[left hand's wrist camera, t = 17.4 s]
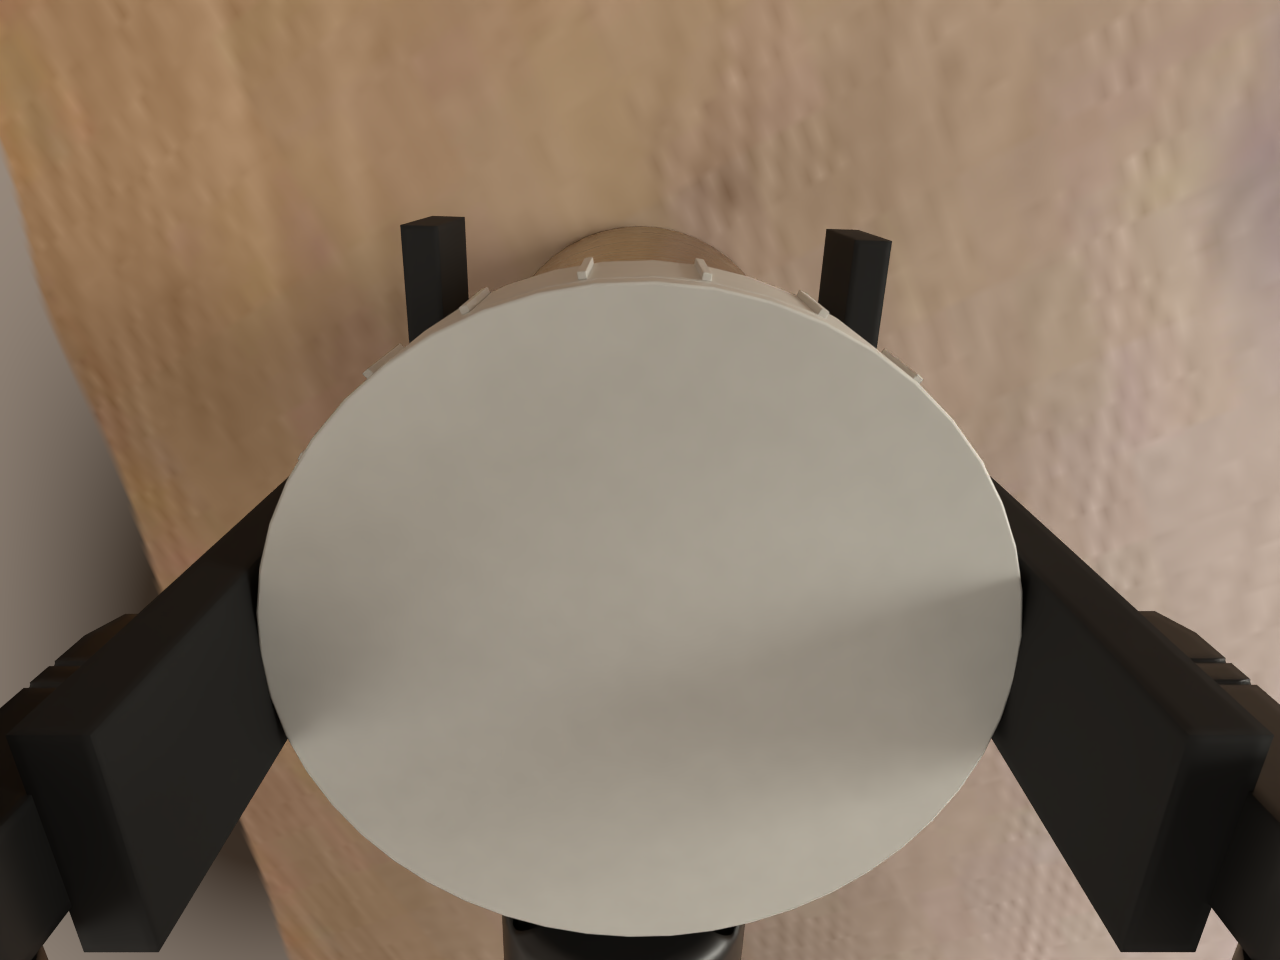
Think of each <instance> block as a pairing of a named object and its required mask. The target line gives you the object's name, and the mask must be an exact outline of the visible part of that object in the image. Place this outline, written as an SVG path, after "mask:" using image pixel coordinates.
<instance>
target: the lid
mask: <svg viewBox="0 0 1280 960" xmlns="http://www.w3.org/2000/svg"><path fill="white" fill-rule="evenodd" d="M363 375H364V376H365V377H366V378H367V380H366V381H364V382H363V383H362V384H361V385H360V386H359V387H358V388H357V389H355V390H354V391H353V392H352V393H351V394H350V395H349V396H348V397H346V398H345V399H344V400H343V402H342V403H341V404H340V405H339V406H338V408H337V409H336V410H335V411H334V412H333V414H332V415H331V416H330V417H329V418H328V420H327V421H326V422H325V423H324V424H323V426H322V427H321V428H320V429H319V430H318V432H317V433H316V434H315V435H314V436H313V438H312V439H311V441H310V443H309V444H308V446H307V448H306V449H305V450H304V451H303V452H301V454H300V456H299V458H298V460H299V461H298V463H297V464H296V466H295V468H294V469H293V471H292V473H291V474H290V476H289V478H288V479H287V481H286V484H285V486H284V489H283V491H282V494H281V496H280V499H279V501H278V504H277V506H276V509H275V511H274V514H273V516H272V519H271V521H270V524H269V528H268V533H267V537H266V541H265V546H264V550H263V554H262V559H261V563H260V568H259V583H258V598H257V624H258V635H259V646H260V651H261V657H262V661H263V666H264V671H265V675H266V680H267V684H268V689H269V693H270V697H271V699H272V702H273V704H274V707H275V709H276V712H277V714H278V717H279V719H280V722H281V724H282V727H283V729H284V732H285V734H286V736H287V738H288V740H289V741H290V743H291V745H292V747H293V748H294V750H295V752H296V754H297V755H298V757H299V759H300V761H301V762H302V764H303V766H304V768H305V769H306V771H307V772H308V774H309V775H310V776H311V778H312V779H313V780H314V782H315V783H316V784H317V786H318V787H319V788H320V790H321V791H322V792H323V793H324V795H325V796H326V797H327V799H328V800H329V801H330V803H331V804H332V805H333V806H334V807H335V808H336V809H337V810H338V811H339V812H340V813H341V814H342V815H343V816H344V817H345V818H346V819H347V820H348V821H349V822H350V823H351V824H352V825H353V826H354V827H355V829H356V830H357V831H358V832H359V833H360V834H361V835H363V836H364V837H365V838H366V839H368V840H369V841H370V842H371V843H373V844H374V845H375V846H376V847H378V848H379V849H380V850H381V851H383V852H384V853H385V854H386V855H388V856H389V857H390V858H391V859H392V860H394V861H395V862H397V863H399V864H400V865H402V866H403V867H405V868H406V869H408V870H410V871H411V872H413V873H414V874H416V875H417V876H419V877H420V878H422V879H424V880H425V881H427V882H428V883H430V884H432V885H434V886H436V887H438V888H440V889H442V890H444V891H446V892H448V893H450V894H452V895H454V896H456V897H458V898H460V899H462V900H464V901H467V902H469V903H472V904H475V905H477V906H480V907H483V908H485V909H488V910H491V911H493V912H496V913H499V914H501V915H504V916H507V917H511V918H515V919H518V920H522V921H526V922H530V923H533V924H537V925H541V926H545V927H550V928H556V929H562V930H568V931H574V932H580V933H586V934H599V935H613V936H627V937H635V936H672V935H681V934H690V933H698V932H707V931H714V930H719V929H723V928H728V927H733V926H737V925H742V924H747V923H751V922H755V921H758V920H761V919H764V918H768V917H771V916H774V915H777V914H780V913H783V912H786V911H790V910H793V909H795V908H797V907H800V906H802V905H804V904H807V903H809V902H811V901H814V900H816V899H818V898H821V897H823V896H825V895H828V894H830V893H832V892H834V891H836V890H837V889H839V888H841V887H843V886H845V885H846V884H848V883H850V882H852V881H853V880H855V879H857V878H859V877H861V876H862V875H864V874H866V873H868V872H869V871H871V870H872V869H873V868H875V867H876V866H878V865H879V864H880V863H882V862H883V861H885V860H886V859H887V858H889V857H890V856H892V855H893V854H894V853H896V852H897V851H899V850H900V849H901V848H903V847H904V846H905V845H906V844H907V843H908V842H909V841H910V840H911V839H913V838H914V837H915V836H916V835H917V834H918V833H919V832H920V831H921V830H923V829H924V828H925V827H926V826H927V825H928V824H929V823H930V822H931V821H933V819H934V818H935V817H936V816H937V815H938V814H939V813H940V811H941V810H942V809H943V808H944V807H945V806H946V805H947V803H948V802H949V801H950V800H951V799H952V798H953V797H954V795H955V794H956V793H957V792H958V791H959V790H960V788H961V787H962V785H963V784H964V782H965V781H966V779H967V778H968V776H969V775H970V773H971V772H972V771H973V769H974V768H975V766H976V765H977V763H978V762H979V760H980V759H981V757H982V756H983V754H984V752H985V750H986V748H987V746H988V744H989V742H990V740H991V738H992V736H993V734H994V732H995V730H996V728H997V725H998V723H999V721H1000V719H1001V717H1002V714H1003V711H1004V708H1005V705H1006V702H1007V699H1008V696H1009V693H1010V690H1011V686H1012V682H1013V677H1014V672H1015V667H1016V662H1017V657H1018V652H1019V647H1020V642H1021V637H1022V584H1021V577H1020V570H1019V563H1018V556H1017V549H1016V544H1015V541H1014V538H1013V535H1012V531H1011V528H1010V525H1009V522H1008V518H1007V515H1006V512H1005V509H1004V505H1003V502H1002V500H1001V498H1000V496H999V494H998V492H997V490H996V488H995V486H994V484H993V482H992V480H991V478H990V476H989V474H988V472H987V470H986V468H985V464H984V462H983V460H982V459H981V458H980V457H979V455H978V454H977V453H976V451H975V450H974V448H973V447H972V446H971V444H970V443H969V441H968V440H967V438H966V437H965V436H964V434H963V433H962V431H961V430H960V428H959V427H958V426H957V424H956V423H955V421H954V420H953V419H952V418H951V417H950V416H949V415H948V413H947V412H946V411H945V410H944V409H943V408H942V407H941V406H940V405H939V404H938V403H937V402H936V401H935V400H934V399H933V398H932V397H931V396H930V395H929V394H928V393H927V392H926V391H925V390H924V388H923V387H922V386H921V385H920V383H921V382H922V381H923V379H922V378H921V377H920V376H919V375H918V374H917V373H916V372H914V371H913V370H912V369H911V368H909V367H908V366H907V365H905V364H904V363H903V362H902V361H900V360H899V359H898V358H897V357H895V356H894V355H893V354H891V353H890V352H889V351H888V350H886V349H884V350H883V351H882V352H880V351H878V350H877V349H876V348H875V347H873V346H872V345H871V344H870V343H868V342H867V341H866V340H864V339H863V338H862V337H861V336H859V335H858V334H857V333H855V332H854V331H853V330H851V329H850V328H849V327H848V326H846V325H845V324H844V323H842V322H841V321H840V320H839V319H837V318H836V317H834V316H832V315H830V314H829V311H828V310H826V309H825V308H824V307H823V306H821V305H820V304H819V303H818V302H816V301H815V300H814V299H813V298H812V297H810V296H809V295H808V294H807V293H805V292H803V291H801V290H800V291H799V292H798V294H797V295H795V294H792V293H790V292H787V291H785V290H782V289H780V288H777V287H775V286H772V285H770V284H767V283H764V282H762V281H759V280H757V279H754V278H752V277H749V276H744V275H740V274H736V273H732V272H728V271H724V270H720V269H716V268H712V267H708V266H707V265H706V263H705V261H704V260H703V259H698V258H696V259H695V263H694V264H685V263H675V262H666V261H656V260H643V261H611V262H599V263H594V262H593V257H588V258H584V260H583V262H582V264H581V266H575V267H569V268H563V269H557V270H553V271H549V272H546V273H543V274H540V275H537V276H533V277H530V278H527V279H524V280H521V281H517V282H514V283H511V284H508V285H506V286H504V287H501V288H499V289H497V290H495V291H493V292H491V293H490V291H489V289H488V287H485V288H483V289H481V290H480V291H478V292H477V293H476V294H475V295H474V296H472V297H471V298H470V299H469V300H468V301H466V302H465V303H464V304H463V305H462V306H460V307H459V309H457V310H456V311H454V312H453V313H451V314H450V315H448V316H447V317H445V318H444V319H442V320H441V321H439V322H438V323H436V324H435V325H433V326H432V327H430V328H429V329H427V330H426V331H424V332H423V333H422V334H421V335H419V336H418V337H417V338H416V339H414V340H413V341H412V342H411V343H409V344H408V345H407V346H406V347H403V346H402V345H401V344H399V345H397V346H396V347H395V348H394V349H392V350H391V351H390V352H388V353H387V354H386V355H385V356H383V357H382V358H381V359H379V360H378V361H377V362H376V363H374V364H373V365H372V366H370V367H369V368H368V369H367V370H366V371H365V372H364V373H363Z"/></svg>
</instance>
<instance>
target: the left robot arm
mask: <svg viewBox="0 0 1280 960" xmlns="http://www.w3.org/2000/svg"><path fill="white" fill-rule="evenodd" d="M288 478H289V477H288ZM288 478H287V479H288ZM990 478H991V480H992V482H993V484H994V486H995V488H996V490H997V492H998V494H999V496H1000V498H1001V500H1002V502H1003V505H1004V509H1005V512H1006V515H1007V518H1008V522H1009V525H1010V528H1011V531H1012V535H1013V538H1014V541H1015V544H1016V549H1017V556H1018V563H1019V570H1020V577H1021V584H1022V637H1021V642H1020V647H1019V652H1018V657H1017V662H1016V667H1015V672H1014V677H1013V682H1012V686H1011V690H1010V693H1009V696H1008V699H1007V702H1006V705H1005V708H1004V711H1003V714H1002V717H1001V719H1000V721H999V723H998V725H997V728H996V730H995V732H994V734H993V736H992V740H993V742H994V743H995V745H996V746H997V748H998V750H999V751H1000V753H1001V755H1002V756H1003V758H1004V760H1005V761H1006V763H1007V765H1008V766H1009V768H1010V770H1011V771H1012V773H1013V775H1014V776H1015V778H1016V780H1017V781H1018V783H1019V785H1020V786H1021V788H1022V789H1023V791H1024V793H1025V794H1026V796H1027V798H1028V799H1029V801H1030V803H1031V804H1032V806H1033V808H1034V809H1035V811H1036V813H1037V814H1038V816H1039V818H1040V819H1041V821H1042V823H1043V824H1044V826H1045V828H1046V829H1047V831H1048V832H1049V834H1050V836H1051V837H1052V839H1053V841H1054V842H1055V844H1056V846H1057V847H1058V849H1059V851H1060V852H1061V854H1062V856H1063V857H1064V859H1065V861H1066V862H1067V864H1068V866H1069V867H1070V869H1071V871H1072V872H1073V874H1074V875H1075V877H1076V879H1077V880H1078V882H1079V884H1080V885H1081V887H1082V889H1083V890H1084V892H1085V894H1086V895H1087V897H1088V899H1089V900H1090V902H1091V904H1092V905H1093V907H1094V909H1095V910H1096V912H1097V914H1098V915H1099V917H1100V918H1101V920H1102V922H1103V923H1104V925H1105V927H1106V928H1107V930H1108V932H1109V933H1110V935H1111V937H1112V938H1113V940H1114V942H1115V943H1116V945H1117V947H1118V948H1119V950H1120V952H1195V951H1196V949H1197V946H1198V943H1199V940H1200V938H1201V935H1202V932H1203V929H1204V927H1205V924H1206V921H1207V918H1208V916H1209V913H1210V910H1211V907H1212V909H1213V910H1214V911H1215V913H1216V914H1217V915H1218V917H1219V918H1220V919H1221V920H1222V922H1223V923H1224V924H1225V926H1226V927H1227V928H1228V930H1229V931H1230V932H1231V934H1232V935H1233V936H1234V938H1235V939H1236V940H1237V941H1238V945H1237V948H1236V950H1235V953H1234V955H1233V958H1232V960H1280V704H1278V703H1277V702H1276V701H1275V700H1274V699H1273V698H1271V697H1270V696H1269V695H1268V694H1267V693H1266V692H1264V691H1263V690H1262V689H1261V688H1260V687H1259V686H1257V685H1251V683H1250V679H1249V678H1248V677H1247V676H1246V675H1245V674H1243V673H1242V672H1241V671H1240V670H1239V669H1238V668H1236V667H1235V666H1234V665H1233V664H1232V663H1226V661H1225V657H1223V656H1222V655H1221V654H1220V653H1219V652H1218V651H1216V650H1215V649H1214V648H1213V647H1212V646H1211V645H1209V644H1208V643H1207V642H1206V641H1205V640H1204V639H1202V638H1201V637H1200V636H1199V635H1198V634H1197V633H1195V632H1193V631H1191V630H1190V629H1188V628H1186V627H1184V626H1182V625H1180V624H1178V623H1176V622H1174V621H1172V620H1171V619H1169V618H1167V617H1165V616H1163V615H1161V614H1159V613H1157V612H1155V611H1137V610H1136V609H1135V608H1134V607H1133V606H1132V605H1131V604H1130V603H1129V602H1128V601H1126V600H1125V599H1124V598H1123V597H1122V596H1121V595H1120V594H1119V593H1118V592H1117V591H1115V590H1114V589H1113V588H1112V587H1111V586H1110V585H1109V584H1108V583H1107V582H1106V581H1105V580H1103V579H1102V578H1101V577H1100V576H1099V575H1098V574H1097V573H1096V572H1095V571H1094V570H1092V569H1091V568H1090V567H1089V566H1088V565H1087V564H1086V563H1085V562H1084V561H1083V560H1081V559H1080V558H1079V557H1078V556H1077V555H1076V554H1075V553H1074V552H1073V551H1072V550H1071V549H1069V548H1068V547H1067V546H1066V545H1065V544H1064V543H1063V542H1062V541H1061V540H1060V539H1058V538H1057V537H1056V536H1055V535H1054V534H1053V533H1052V532H1051V531H1050V530H1049V529H1047V528H1046V527H1045V526H1044V525H1043V524H1042V523H1041V522H1040V521H1039V520H1038V519H1036V518H1035V517H1034V516H1033V515H1032V514H1031V513H1030V512H1029V511H1028V510H1027V509H1026V508H1024V507H1023V506H1022V505H1021V504H1020V503H1019V502H1018V501H1017V500H1016V499H1015V498H1013V497H1012V496H1011V495H1010V494H1009V493H1008V492H1007V491H1006V490H1005V489H1004V488H1002V487H1001V486H1000V485H999V484H998V483H997V482H996V481H995V480H994V479H993V478H992V477H990ZM287 479H286V480H285V481H284V482H282V483H281V484H280V485H279V486H278V487H277V488H276V489H275V490H274V491H273V492H271V493H270V494H269V495H268V496H267V497H266V498H265V499H264V500H263V501H262V502H261V503H259V504H258V505H257V506H256V507H255V508H254V509H253V510H252V511H251V512H250V513H248V514H247V515H246V516H245V517H244V518H243V519H242V520H241V521H240V522H239V523H237V524H236V525H235V526H234V527H233V528H232V529H231V530H230V531H229V532H228V533H226V534H225V535H224V536H223V537H222V538H221V539H220V540H219V541H218V542H217V543H216V544H214V545H213V546H212V547H211V548H210V549H209V550H208V551H207V552H206V553H205V554H203V555H202V556H201V557H200V558H199V559H198V560H197V561H196V562H195V563H194V564H192V565H191V566H190V567H189V568H188V569H187V570H186V571H185V572H184V573H183V574H182V575H180V576H179V577H178V578H177V579H176V580H175V581H174V582H173V583H172V584H171V585H169V586H168V587H167V588H166V589H165V590H164V591H163V592H162V593H161V594H160V595H158V596H157V597H156V598H155V599H154V600H153V601H152V602H151V603H150V604H149V605H147V606H146V607H145V608H144V609H143V610H142V611H141V612H140V613H139V614H124V615H122V616H121V617H119V618H117V619H115V620H113V621H111V622H109V623H107V624H106V625H104V626H102V627H100V628H98V629H96V630H94V631H92V632H90V633H89V634H87V635H85V636H83V637H82V638H81V639H80V640H79V641H78V642H77V643H75V644H74V645H73V646H72V647H71V648H70V649H68V650H67V651H66V652H65V653H64V654H63V655H61V656H60V657H59V658H58V659H57V660H56V661H55V665H54V666H49V667H48V668H46V669H45V670H44V671H43V672H42V673H41V674H39V675H38V676H37V677H36V678H35V679H34V680H32V681H31V682H30V687H29V688H23V689H22V690H21V691H20V692H19V693H17V694H16V695H15V696H14V697H13V698H12V699H10V700H9V701H8V702H7V703H6V704H5V705H3V706H2V707H1V708H0V960H48V958H47V955H46V953H45V950H44V948H43V944H44V943H45V941H46V940H47V939H48V937H49V936H50V935H51V933H52V932H53V931H54V930H55V928H56V927H57V926H58V924H59V923H60V922H61V920H62V919H63V918H64V916H65V915H66V914H67V912H68V911H69V912H70V915H71V917H72V920H73V923H74V926H75V928H76V931H77V934H78V937H79V939H80V942H81V945H82V948H83V950H84V952H159V951H160V949H161V947H162V946H163V944H164V942H165V941H166V939H167V937H168V936H169V934H170V932H171V931H172V929H173V927H174V926H175V924H176V923H177V921H178V919H179V918H180V916H181V914H182V913H183V911H184V909H185V908H186V906H187V904H188V903H189V901H190V899H191V898H192V896H193V894H194V893H195V891H196V889H197V888H198V886H199V885H200V883H201V881H202V880H203V878H204V876H205V875H206V873H207V871H208V870H209V868H210V866H211V865H212V863H213V861H214V860H215V858H216V856H217V855H218V853H219V851H220V850H221V848H222V846H223V845H224V843H225V842H226V840H227V838H228V837H229V835H230V833H231V832H232V830H233V828H234V827H235V825H236V823H237V822H238V820H239V818H240V817H241V815H242V813H243V812H244V810H245V808H246V807H247V805H248V804H249V802H250V800H251V799H252V797H253V795H254V794H255V792H256V790H257V789H258V787H259V785H260V784H261V782H262V780H263V779H264V777H265V775H266V774H267V772H268V770H269V769H270V767H271V765H272V764H273V762H274V761H275V759H276V757H277V756H278V754H279V752H280V751H281V749H282V747H283V746H284V744H285V742H286V741H287V739H288V738H287V736H286V734H285V732H284V729H283V727H282V724H281V722H280V719H279V717H278V714H277V712H276V709H275V707H274V704H273V702H272V699H271V697H270V693H269V689H268V684H267V680H266V675H265V671H264V666H263V661H262V657H261V651H260V646H259V635H258V624H257V598H258V583H259V568H260V563H261V559H262V554H263V550H264V546H265V541H266V537H267V533H268V528H269V524H270V521H271V519H272V516H273V514H274V511H275V509H276V506H277V504H278V501H279V499H280V496H281V494H282V491H283V489H284V486H285V484H286V481H287Z"/></svg>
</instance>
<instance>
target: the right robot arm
mask: <svg viewBox="0 0 1280 960" xmlns="http://www.w3.org/2000/svg"><path fill="white" fill-rule="evenodd" d="M400 227H401V240H402V253H403V266H404V279H405V292H406V305H407V318H408V331H409V343H411V342H412V341H413V340H414V339H416V338H417V337H418V336H419V335H421V334H422V333H423V332H424V331H426V330H427V329H429V328H430V327H432V326H433V325H435V324H436V323H438V322H439V321H441V320H442V319H444V318H445V317H447V316H448V315H450V314H451V313H453V312H454V311H456V310H457V309H459V307H460V306H462V305H463V304H464V303H465V302H466V301H468V300H469V298H468V278H467V257H466V236H465V217H447V216H431V217H427V218H424V219H420V220H417V221H413V222H410V223H406V224H402V225H400ZM891 244H892V241H890V240H887V239H884V238H881V237H878V236H875V235H872V234H869V233H866V232H863V231H860V230H841V229H826V238H825V247H824V256H823V264H822V273H821V282H820V291H819V300H818V303H819V304H820V305H821V306H823V307H824V308H825V309H826V310H828V311H829V314H830V315H832V316H834V317H836V318H837V319H839V320H840V321H841V322H842V323H844V324H845V325H846V326H848V327H849V328H850V329H851V330H853V331H854V332H855V333H857V334H858V335H859V336H861V337H862V338H863V339H864V340H866V341H867V342H868V343H870V344H871V345H872V346H873V347H875V348H876V349H877V342H878V335H879V328H880V321H881V314H882V307H883V300H884V293H885V286H886V279H887V272H888V265H889V258H890V251H891ZM502 924H503V946H504V960H741V954H742V945H743V936H744V927H745V924H742V925H737V926H733V927H728V928H723V929H719V930H714V931H707V932H698V933H690V934H681V935H672V936H635V937H627V936H613V935H599V934H586V933H580V932H574V931H568V930H562V929H556V928H550V927H545V926H541V925H537V924H533V923H530V922H526V921H522V920H518V919H515V918H511V917H507V916H504V915H502Z"/></svg>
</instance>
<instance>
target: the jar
mask: <svg viewBox="0 0 1280 960" xmlns="http://www.w3.org/2000/svg"><path fill="white" fill-rule="evenodd" d="M588 257H593V262H594V263H599V262H611V261H643V260H656V261H666V262H675V263H685V264H694V263H695V259H696V258H698V259H703V260H704V261H705V263H706V265H707V266H708V267H712V268H716V269H720V270H724V271H728V272H732V273H736V274H740V275H744V276H746V275H745V274H744V273H743V272H742V271H741V270H740V269H739V268H738V267H737V266H736V265H735V264H734V263H733V262H732V261H731V260H730V259H729V258H727V257H726V256H725V255H723V254H722V253H720V252H719V251H718V250H716V249H715V248H714V247H712V246H710V245H708V244H706V243H704V242H702V241H700V240H699V239H697V238H694V237H691V236H689V235H686V234H683V233H680V232H677V231H672V230H668V229H663V228H656V227H643V226H638V227H622V228H617V229H612V230H607V231H602V232H599V233H596V234H594V235H591V236H588V237H585V238H583V239H581V240H579V241H577V242H575V243H573V244H571V245H569V246H568V247H566V248H565V249H563V250H562V251H560V252H559V253H557V254H556V255H555V256H553V257H552V258H551V259H550V260H549V261H548V262H547V263H545V264H544V265H543V266H542V267H541V268H540V269H539V270H538V271H537V272H536V273H535V275H534V276H537V275H540V274H543V273H546V272H549V271H553V270H557V269H563V268H569V267H575V266H581V264H582V262H583V260H584V258H588Z"/></svg>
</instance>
